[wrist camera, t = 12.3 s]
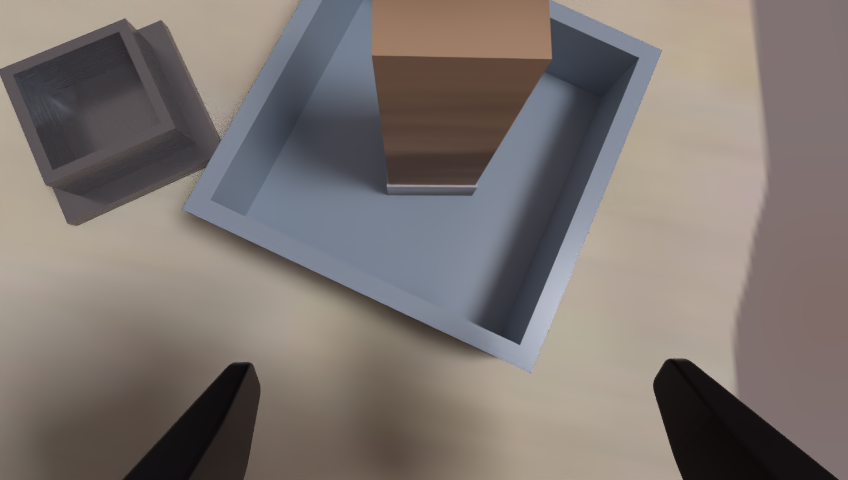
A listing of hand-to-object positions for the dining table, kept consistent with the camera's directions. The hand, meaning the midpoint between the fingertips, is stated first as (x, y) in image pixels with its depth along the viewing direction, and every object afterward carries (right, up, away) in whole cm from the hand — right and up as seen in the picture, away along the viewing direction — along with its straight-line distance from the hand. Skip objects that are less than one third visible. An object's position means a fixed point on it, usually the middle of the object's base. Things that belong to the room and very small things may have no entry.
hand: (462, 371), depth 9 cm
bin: (-1, +7, +13) cm, 15 cm away
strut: (-1, +7, +12) cm, 14 cm away
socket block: (-16, +9, +13) cm, 22 cm away
